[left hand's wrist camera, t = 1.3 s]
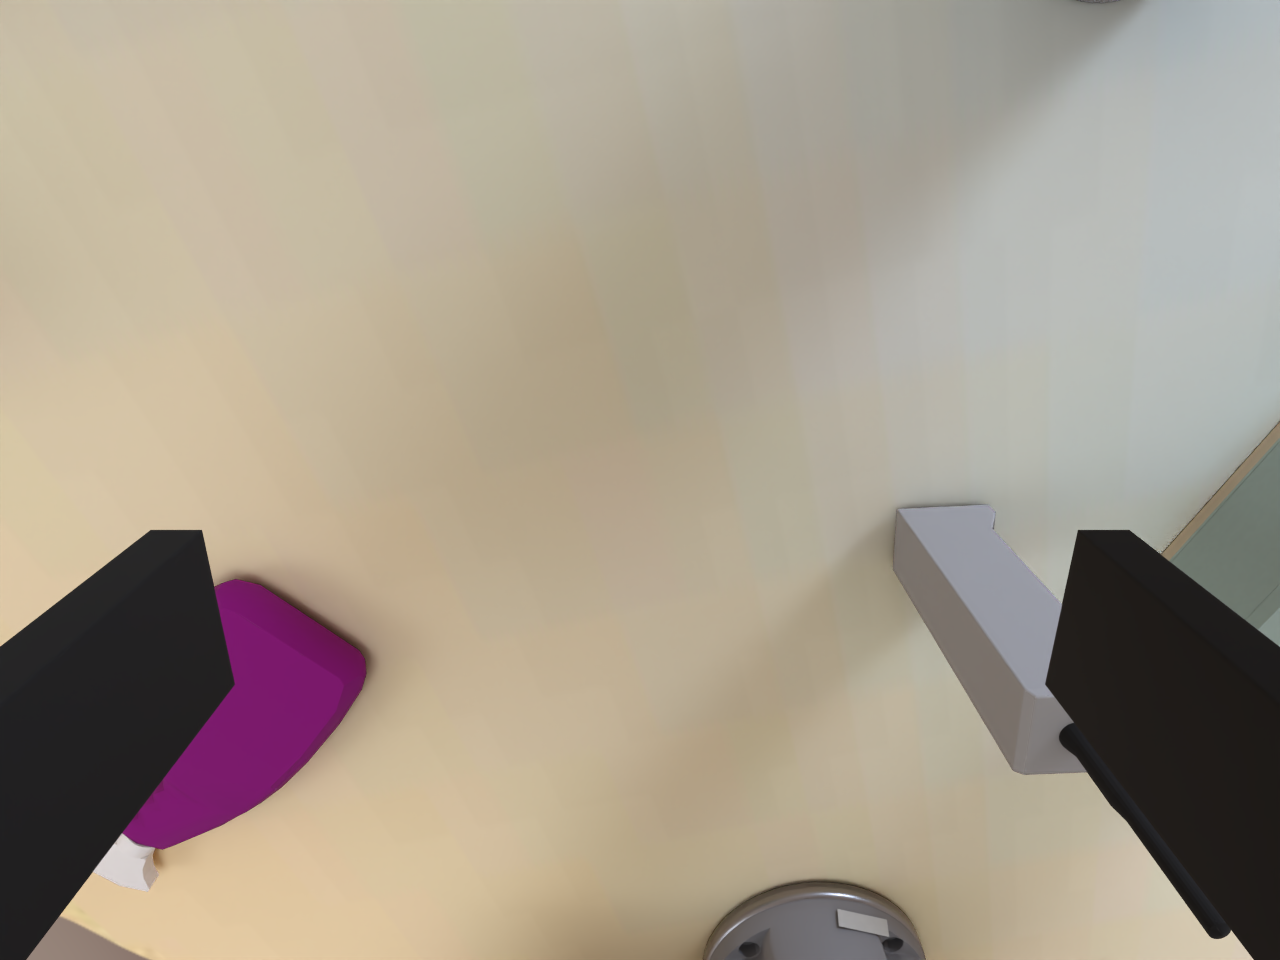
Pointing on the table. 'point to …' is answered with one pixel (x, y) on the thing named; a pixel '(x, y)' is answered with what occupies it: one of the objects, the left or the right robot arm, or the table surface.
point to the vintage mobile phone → (1012, 659)
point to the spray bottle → (246, 727)
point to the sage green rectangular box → (1240, 541)
